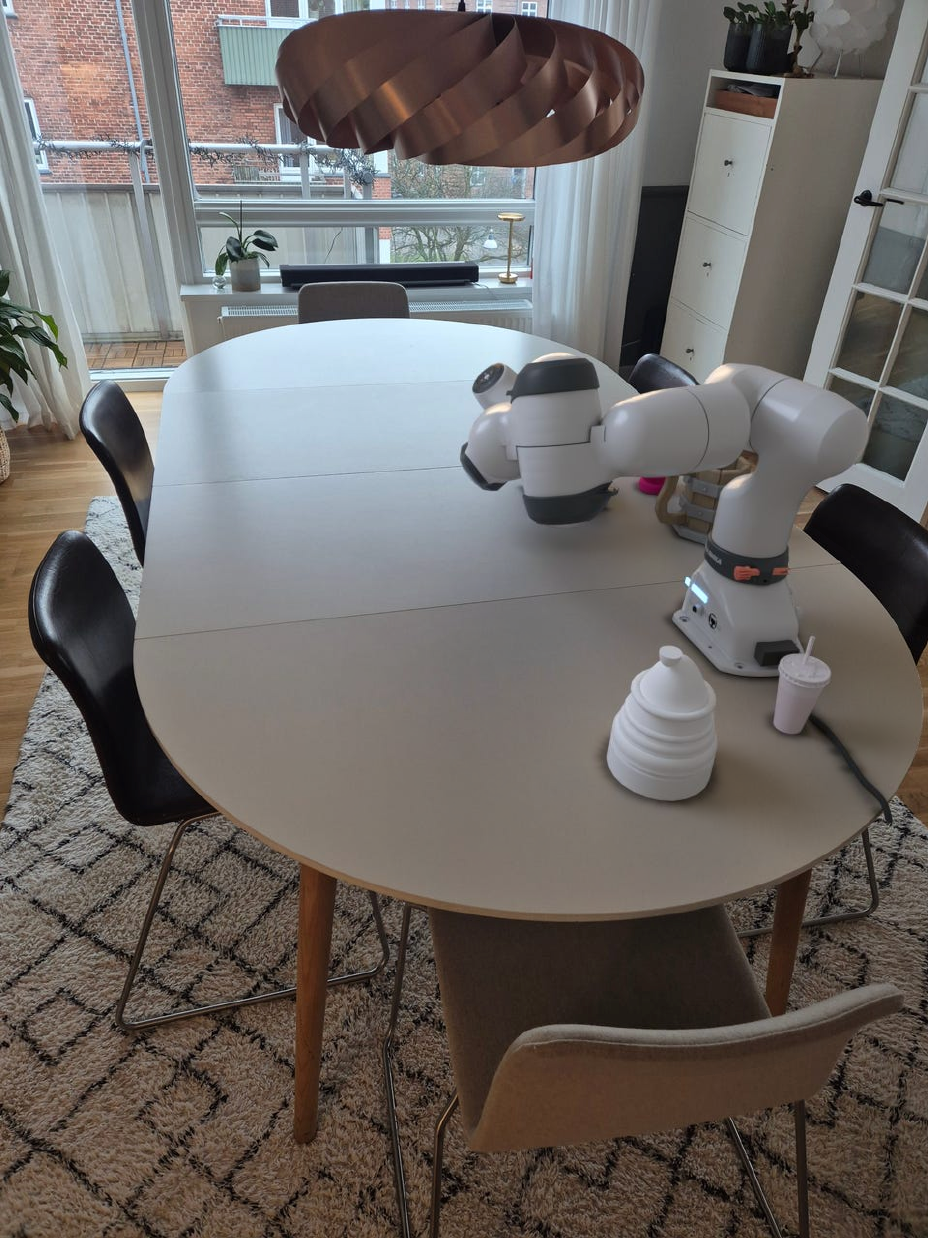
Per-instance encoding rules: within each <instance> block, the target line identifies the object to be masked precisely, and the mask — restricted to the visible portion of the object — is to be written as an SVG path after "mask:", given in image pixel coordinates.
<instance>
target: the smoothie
mask: <svg viewBox="0 0 928 1238" xmlns="http://www.w3.org/2000/svg"><path fill="white" fill-rule="evenodd" d="M815 639H816V636H815V635H810V637H809V640H808V644H807V647H806V650H805V654H790V655H787V656H785V657H783V658H782V659H781V661H780V664H779V668H778V670H779V672H780V676H778V686H777V693H776V701H775V706H774V714H773V715H774V716H773V726H774V727H775V728H776V730H778V731H779V732H782V733H784V734H786V735H797V734H800V733H802V731H803V729H804V727H805V726H806V725H805V724H806V723H807V721H808V719H809V718H808V717H809V715H810V713H812V710H814V707H815V705H816V703H817V702H818V699H819V697H820V695H821V693H822V692H823V690H824V688H825V687H826V686H827V685H829V683H830V681H831V676H832V670H831V668H830V667H829V665H828V664H826V663H825V662H824V661H822V660H821V659H819V658H817V657H814V656H812V655H811V653H812V648H813V646H814V643H815Z"/></svg>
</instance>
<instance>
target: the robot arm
mask: <svg viewBox="0 0 928 1238" xmlns="http://www.w3.org/2000/svg"><path fill="white" fill-rule="evenodd" d="M600 387H601V385H600V380H599V377H598V372H597V370H596V367H595V364H594V363H593V362H592V361H591V360H590V359H588V358H586V357H580V356H578V355H576V354H573V353H568V352H552V353H551V352H550V353H547V354H545V355H541V356H539V357H537V358H536V359H534V360H532V361H531V362H528V363H526V364H524V366H523V367H522V368H521V370H520V371H519V372H518V373H517V372H516V371H514V369H512V368H511V367H510V366H509V365H507V364H506V363H504V362H496V363H494V364H490V366H488V367H487V368H486V369H484V370H483V371H482V372H480V374H479V375H477V377H476V379H475V380H474V381H473V384H472V389H471V392H472V395H473V396H474V398H475V399H476V401H477V402H478V404H479V405H480V407H481V409H482V410H483V411H482V412H481V413H480V414H479V415H478V416H477V417H476V419H475V420H474V421H473V423H472V425H471V428H470V430H469V434H468V437H467V441H466V442H465V443H464V444H462V445H461V449H460V454H459V461H460V463H461V467H462V470H464V473H465V475H466V476H467V478H468V479H469V480H470V481H471V482H472V483H473V484H474V485H475V486H477V487H479V488H480V489H481V490H483V491H487V492H498V491H500V489H501V488H502V487H504V486H505V485H506V484H507V483H509V482H511V481H516V480H519V479H521V484H522V489H523V493H524V494H522V500H523V504H524V507H525V510H526V513H527V515H528V518H529V519H530V520H532V522H534V523H536V524H537V525H541V526H542V525H543V526H545V527H546V526H547V527H550V528H554V529H570V528H574V527H577V526H580V525H582V524H584V523H586V522H589V521H592V520H594V519H595V518H596V517H597V516H598V515H600V513H601V512H602V511H603V510H605V509H606V507H607V505H608V503H609V501H610V499H611V498H613V497H615V496H617V495H618V494H619V491H620V487H618V486H611V485H612V484H613V482H614V480H616V479H619V478H628V477H629V478H641V477H669V476H677V475H684V474H689V473H695V472H701V471H707V470H712V469H718V468H723V467H726V466H728V465H730V464H731V463H733V462H734V461H735V460H736V459H737V458H738V457H739V455H740V456H741V455H742V453H743V452H744V451H748V452H751V453H753V454H757V464H756V466H755V468H754V471H753V472H750V474H745V475H741V476H738V477H736V478H734V479H733V480H731V481H730V482H729V483H728V484H727V485H726V486H725V487H724V488H723V490H722V491H721V493H720V498H719V502H718V507H717V511H716V516H715V521H714V525H713V530H712V531H711V532H710V533H709V536H708V539H707V541H706V545H705V544H704V552H703V556H704V559H703V560H702V562H701V564H700V565H699V566H698V567H697V569H696V570H695V571H694V572H693V573H692V574H691V577H688V576H687V577H685V581H684V583H685V584H686V586H688V587H687V590H686V593H685V596H684V601H683V604H682V607H681V608H680V609H678V610H677V611H675V612H674V613H673V616H672V618H671V620H672V622H673V623H674V624H675V625H676V626H677V627H678V629H679V630H680V631H681V632H683V634H684V635H685V636H686V637H687V638H688V639H689V640H690V641H691V642H692V643H693V645H695V646H696V648H698V650H699V651H700V652H701V653H702V654H703V655H704V656H705V657H706V658H707V659H708V660H709V662H711V663H712V664H713V666H715V667H716V668H717V669H718V671H720V672H723V673H726V674H729V675H733V676H734V675H735V676H741V677H751V678H753V677H755V678H756V677H757V678H762V677H763V678H764V677H766V678H768V677H769V678H770V677H780V672H779V670H778V668H779V664H780V661H781V659H782V658H783V657H785V656H787V655H790V654H805V653H806V651H805V650H804V648H803V645H802V643H801V641H800V639H799V637H798V635H799V622H801V621H803V617H804V610H803V607H801V606H796V605H794V602H793V599H792V596H793V588H792V587H790V586H789V584H788V580H787V576H788V575H790V573H789V571H790V570H791V567H789V563H790V555H789V554H790V548H789V545H788V544H789V540H790V537H791V533H792V531H793V527H794V524H795V521H796V518H797V515H798V512H799V509H800V507H801V506H802V503H803V502H804V500H805V498H806V497H807V496H808V494H809V493H810V492H811V491H812V490H813V489H814V488H815V487H816V486H817V485H819V484H820V483H822V482H823V481H826V480H828V479H830V478H834V477H836V476H839V475H841V474H843V473H844V472H846V471H848V470H849V469H850V468H852V466H854V464H855V463H856V462H858V461H859V459H860V457H862V455H863V453H864V451H865V448H866V446H867V444H868V439H869V434H870V433H869V432H870V431H869V428H870V427H869V422H868V421H869V420H868V417H867V415H866V413H865V412H864V411H863V410H862V409H861V408H860V407H858V406H857V405H855V404H853V402H851V401H849V400H848V399H846V398H845V397H843V396H842V395H840V394H838V393H837V392H834V391H832V390H828V389H825V388H822V387H820V386H817V385H814V384H811V383H809V382H806V381H804V380H801V379H798V378H795V377H792V376H789V375H787V374H783V373H780V372H778V371H775V370H772V369H769V368H767V367H764V366H761V365H755V364H748V363H736V362H727V363H724V364H721V365H719V366H718V367H716V369H714V370H713V371H712V372H711V373H710V374H709V375H708V376H707V378H706V379H705V381H704V382H703V384H695V385H694V384H693V385H685V386H677V387H669V388H661V389H658V390H652V391H648V392H645V393H640V394H637V395H635V396H631V397H629V398H626V399H623V400H621V401H618V402H617V403H615V404H614V405H612V406H611V407H610V408H609V409H608V410H607V411H606V413H605V414H604V415H603V413H602V406H601V401H600V395H599V391H598V390H599V388H600ZM604 508H605V509H604ZM808 719H809V720H810V721H812V723H813V724H815V726H817V727H819V729H821V730H822V731H823V732H824V733H825V734H826V736H827V737H828V738H829V739H830V741H831V742H832V743H833V744H834V746H835V747H836V749H837V750H838V752H839V753H840V755H841V756H842V758H843V759H844V761H845V762H846V763H847V765H848V767H849V769H850V770H851V772H852V773H853V774H854V776H855V778H856V779H857V780H858V781H859V783H860V784H861V785H862V787H863V788H865V789H866V790H867V791H868V792H869V793H870V794H871V795H872V796H873V797H874V798H875V799H876V801H877V802H878V803H879V805H880V807H881V809H882V812H883V817H884V820H885V821H886V823H888V824H893V823H894V818H893V814H892V810H891V807H890V805H889V803H888V801H887V799H886V798H885V796H884V795H883V793H882V792H881V791H880V790H878V789H877V788H876V787H875V786H874V785H873V784H872V783H871V782H870V781H869V780H868V779H867V778H866V776H865V775H864V774H863V772H862V771H861V769H860V768H859V767H858V765H857V763H856V762H855V760H854V759H853V758H852V756H851V755H850V753H849V752H848V750H847V749H846V747H845V746H844V744H843V743H842V741H841V740H840V739H839V737H838V736H837V735H836V734H835V732H834V731H833V730H832V729H831V728H830V727H829V726H828V725H827V724H826V723H825V722H824V721H822V720H821V719H820V718H819V717H817V716H816V715H815V714H813V713H812V712H811V713H810V715H809V717H808Z"/></svg>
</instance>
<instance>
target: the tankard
mask: <svg viewBox="0 0 928 1238" xmlns="http://www.w3.org/2000/svg"><path fill="white" fill-rule="evenodd" d="M752 467H753V466H752V464H751V463H750V462H749V461H748V460H747V459H746V458H745V457H743V456H742V455H741V454H740V455H739V457H738V458H737V459H736V460H735V461H734V462H733V463H731V464H730V465H728V466H726V467H723V468H718V469H712V470H707V471H701V472H695V473H689V474H684V475H677V476H669V477H666V479H665V483H664V486H663V488H662V489H661V491H660V493H659V495H657V496H656V499H655V503H654V513H655V515H656V517H657V520H658V522H659V523H660V524H662V525H670V526H672V527H673V528H674V530H675V531H676V532H677V534H678V535H679V536H680V537H681V538H683V539H687V540H690V541H692V542H696V543H699V544H701V545H704V546H705V545H706V541H707V539H708V536H709V533H710V532H711V531H712V530H713V525H714V521H715V516H716V511H717V507H718V502H719V498H720V493H721V491H722V490H723V488H724V487H725V486H726V485H727V484H728V483H729V482H730V481H731V480H733V479H734V478H736V477H738V476H741V475H745V474H750V473H752V472H751V471H752ZM680 477H682V481H683V483H684V484H685V486H684V491H683V492H681V493H680V494H679V498H678V503H677V505H678V506H679V507H680V510H678V512H674V513H671V512H668V504H669V502H670V500H671V498H672V496H673V495H674V493H675V491H676V490H677V486H678V482H679V479H680Z"/></svg>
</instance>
